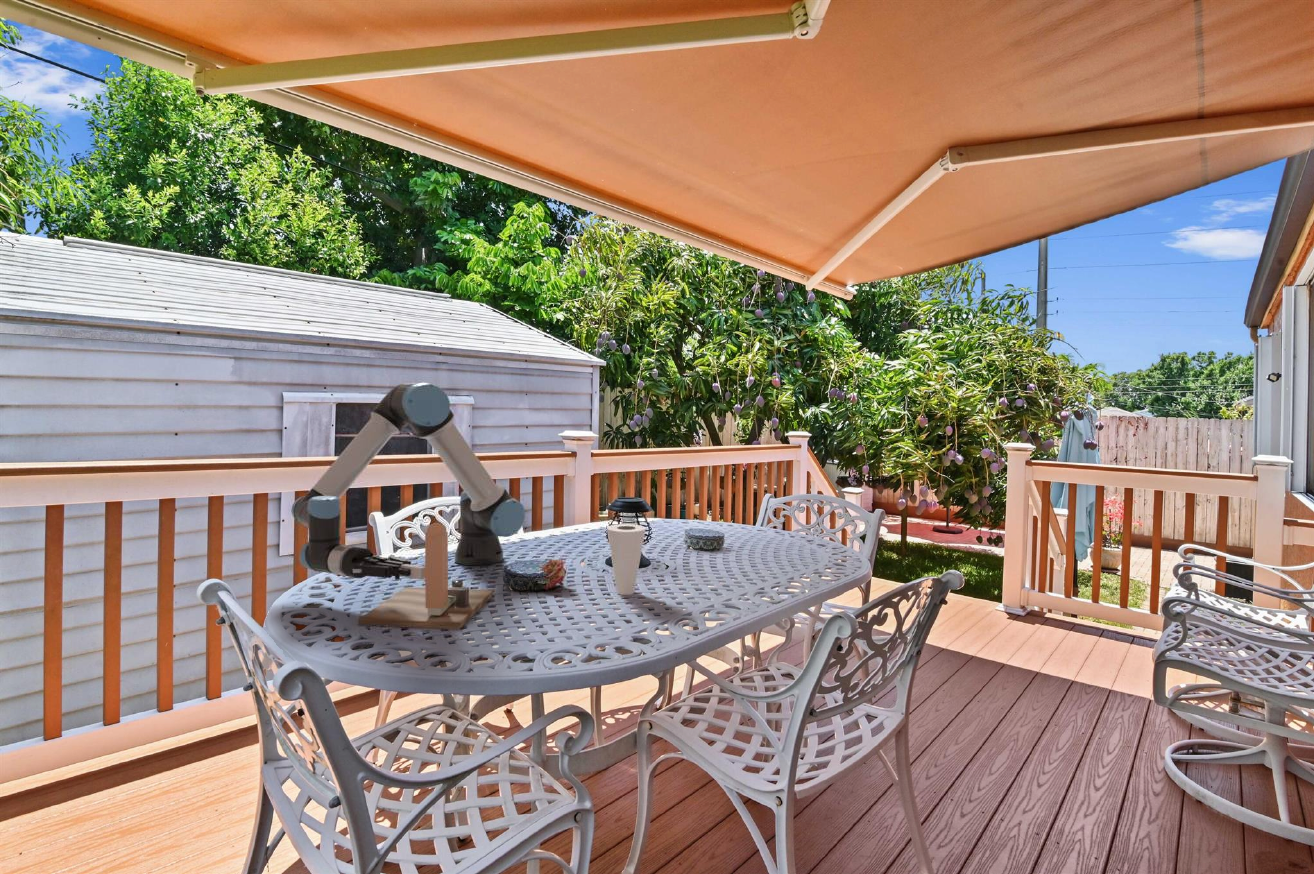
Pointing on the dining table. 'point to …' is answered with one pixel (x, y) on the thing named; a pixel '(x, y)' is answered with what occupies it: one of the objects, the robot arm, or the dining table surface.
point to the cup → (625, 555)
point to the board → (423, 610)
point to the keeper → (459, 593)
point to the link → (437, 570)
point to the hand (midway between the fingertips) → (423, 573)
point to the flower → (554, 572)
